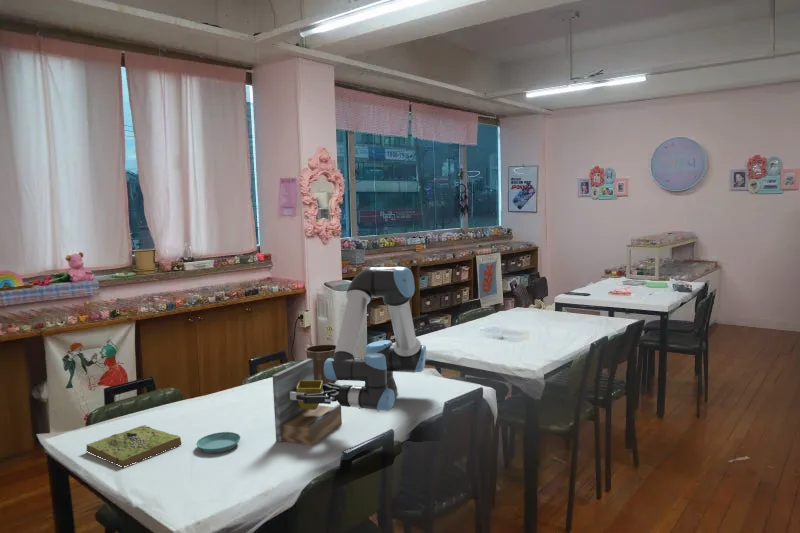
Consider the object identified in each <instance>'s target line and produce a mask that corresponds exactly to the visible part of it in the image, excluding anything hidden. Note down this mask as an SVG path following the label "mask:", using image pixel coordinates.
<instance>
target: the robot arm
mask: <svg viewBox="0 0 800 533" xmlns="http://www.w3.org/2000/svg"><path fill="white" fill-rule="evenodd" d="M415 290H416V286H415V279H414V274H413V272H412V270H411V269H410V268H409V267H406V266H400V265H398V266H371V267H367V268H364V269H363V270H361V271H360V272H358V274H356V275H355V277H354V278H353V279H352V280H351V282H350V283H349V285H348V288H347V290H346V292H345V293H346V294H345V298H346V300H347V301H346V304H345V308H344V314H343V316H342V320H341V324H340V330H339V334H338V337H337V342H336V344H335V345H336V349H335V353H334V357H333V358H328V359H327V360H326V361H325V363H324V375H325V377H326V378H327V379H330V380H336V382H337V381H338V382H339V381H351V382H352V381H353V382H354V381H355V382H365V383H364V385H352V384H342V385H341V384H337V383H334V382H328V383H327V384H322V393H315V394H306V392H305V393H300V392H290V399H291V400H300V401H303V403H304V404H320V405H321V404H325V405H331V404H332V402H335V403H336V402H338V405H341V407H346V408H350V407H351V408H357V409H359V410H361V409H366V410H374V411H375V410H376V411H391V409H392V408H393V407H394V405H395V401H396V400H395V399H396V396H397V395H398V386H397V384H396V381H395V378H394V372H395V373H422V372H423V371H424V369H425V367H426V366H425V365H426V358H427V347H426V345H424V344H421V340H419V339H418V338H417V336H416V331H415V326H414V320H413V315H412V310H411V306H410V305H411V304H410V300H412V297H413V296H414V294H415ZM374 297H377V298H378V297H379V298H382V300H383V303H384V304H385V305H387V306H388V312H389V316H390V320H391V321H390V322H391V325H392V330H393V333H394V339H395V342H394V344H393V342H392V341H391V340H390V339H389V340H388V339H386V340H385V339H384V340H377V341H374V342H370V343H368V344H367V345H366V347H365V355H364V358H356V353H357V350H358V349H357V348H358V344H359V339H360V336H361V332H362V327H363V322H364V319H365V313H366V308H367V306H368V304H369V303H370V302H371V299H372V298H374Z"/></svg>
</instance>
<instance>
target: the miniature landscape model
mask: <svg viewBox="0 0 800 533" xmlns="http://www.w3.org/2000/svg"><path fill="white" fill-rule="evenodd" d="M181 444H182V440H181V436H179V435H177V434H173V433H169V432H166V431H162V430H157V429H156V428H151V426H150V425H149V426H147V425H140V426H137V427H134V428H131V429H128V430H126V431H123V432H120V433H113V434H112V435H110V436H108V437H104V438H102V439H100V440H97V441H94V442H91V443H87V444H86V452H87V451H88V452H90V453H92V454H94V455H96V456H99V457H101V458H103V459H106V460H108V461H110V462H113V463H115V464H118V465H120V466H122V467H124V466H127V465H130V464H132V463H135V462H138V461H141V460H143V459H145V458H148V457H150V456H153V455H156V454H158V453H161V452H163V451H165V450H168V449H171V448H174V447H176V448H178V447H177V446H179V445H181ZM181 446H182V445H181ZM179 447H180V446H179ZM174 449H175V448H174ZM171 450H172V449H171ZM163 453H164V452H163ZM161 454H162V453H161ZM158 455H159V454H158ZM156 456H157V455H156ZM153 457H154V456H153ZM148 459H149V458H148ZM143 461H144V460H143ZM141 462H142V461H141ZM138 463H139V462H138ZM130 466H131V465H130Z"/></svg>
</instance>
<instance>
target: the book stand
mask: <svg viewBox="0 0 800 533" xmlns="http://www.w3.org/2000/svg"><path fill="white" fill-rule="evenodd" d="M271 377H272V388H273V390H272V393H273V409H274V411H273V412H274V428H275V441H276V442H279V443H281V442H287V443H294V444H300V445H308V446H312V445H314V444H315V443H317V442H319V441H320V440H321V439H323V437H325V436H327V435H328V434H329V433H331V432H332V431H333V430H335V429H336V428H338V427H339V426H340V425H341V424H343V421H342V417H343V416H342V406H341V405H340V404H337V405H335V406H328V405H321V404H320V405H318V407H317V409H316V410H302V408H301V407H300V405H299V403H298V400H291V399H290V392H297V390H296V388H297V385H298V383H299V381H300V380H309V381H314V369H313V359H308V358H306V359H305V360H302V361H301V362H298V363H296V364H294V365H292V366H289V367H287V368H286V369H283V370H281V371H278V372H276V373H274V374H272V376H271Z"/></svg>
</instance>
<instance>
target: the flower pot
mask: <svg viewBox="0 0 800 533" xmlns="http://www.w3.org/2000/svg"><path fill="white" fill-rule="evenodd" d="M322 384H323V381H309V380H300V381H299V383H298V385H297V388H296V390H297V392H300V393H305V392H306V394H315V393H323V391H322ZM298 403H299V405H300V407H301V408H302V410H316V409H317V407H318V405H319V404H304V403H303V401H300V400H298Z"/></svg>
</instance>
